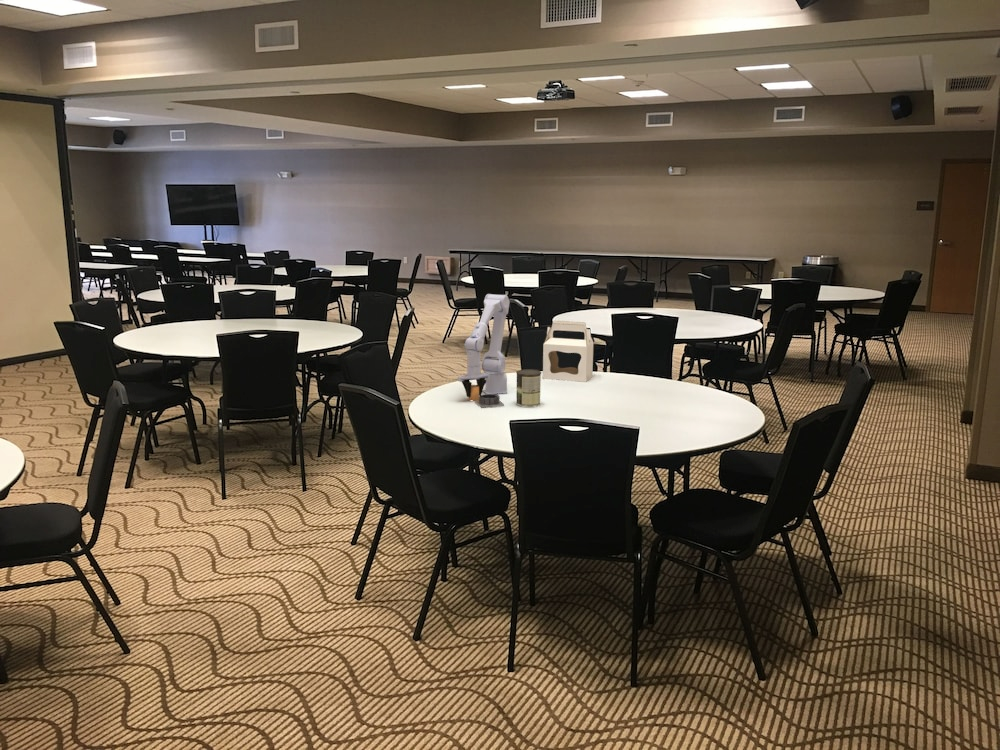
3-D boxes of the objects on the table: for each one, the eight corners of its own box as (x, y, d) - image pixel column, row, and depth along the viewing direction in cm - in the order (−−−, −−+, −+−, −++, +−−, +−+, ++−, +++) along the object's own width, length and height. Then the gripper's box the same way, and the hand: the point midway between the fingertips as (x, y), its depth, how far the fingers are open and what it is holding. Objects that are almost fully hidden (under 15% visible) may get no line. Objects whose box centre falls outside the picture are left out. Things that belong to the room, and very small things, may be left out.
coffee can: (511, 404, 323) (511, 372, 321) (524, 400, 332) (525, 368, 329) (531, 408, 318) (532, 375, 315) (545, 403, 326) (545, 371, 323)
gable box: (542, 378, 376) (543, 322, 370) (549, 373, 388) (550, 318, 382) (586, 382, 368) (588, 324, 362) (592, 377, 380) (594, 321, 374)
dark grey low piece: (497, 401, 330) (497, 393, 329) (504, 406, 321) (504, 398, 320) (474, 402, 327) (474, 394, 326) (481, 408, 318) (481, 399, 317)
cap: (477, 398, 335) (477, 384, 333) (480, 400, 331) (480, 386, 329) (467, 399, 333) (467, 384, 332) (470, 401, 329) (470, 387, 328)
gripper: (484, 362, 336) (484, 392, 339) (454, 365, 329) (454, 396, 332) (492, 364, 330) (492, 395, 333) (462, 368, 323) (462, 399, 326)
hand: (474, 396), depth 332 cm, fingers open, 5 cm apart
